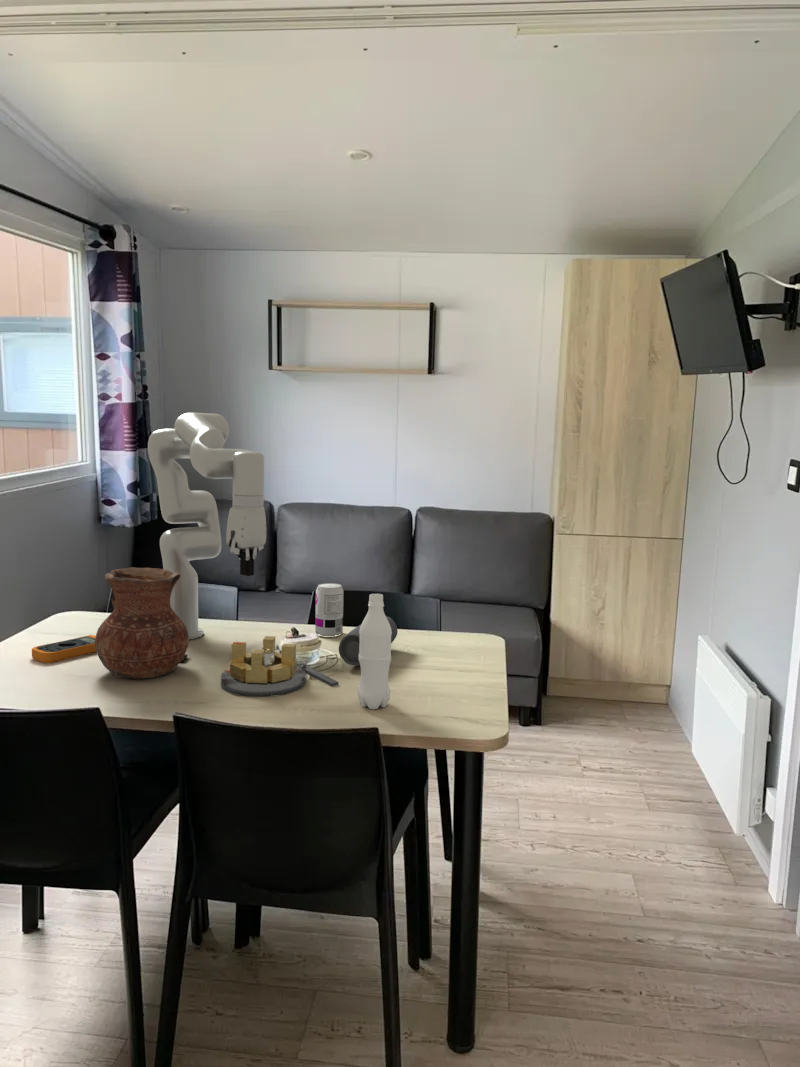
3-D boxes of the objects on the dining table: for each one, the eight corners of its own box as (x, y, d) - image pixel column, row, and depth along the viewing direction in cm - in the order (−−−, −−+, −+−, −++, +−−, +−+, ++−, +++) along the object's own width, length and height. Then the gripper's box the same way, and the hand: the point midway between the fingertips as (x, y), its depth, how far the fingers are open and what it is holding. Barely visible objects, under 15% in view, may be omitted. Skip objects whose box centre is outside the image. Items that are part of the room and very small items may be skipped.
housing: (216, 697, 171) (216, 667, 170) (225, 670, 191) (225, 643, 190) (305, 695, 173) (306, 666, 173) (305, 669, 193) (305, 642, 192)
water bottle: (369, 713, 163) (371, 599, 160) (351, 703, 169) (353, 593, 166) (396, 707, 168) (399, 596, 165) (378, 697, 173) (380, 590, 170)
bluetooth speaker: (370, 672, 192) (371, 634, 191) (336, 668, 195) (336, 630, 194) (399, 649, 213) (400, 615, 212) (368, 646, 216) (369, 611, 215)
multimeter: (28, 659, 196) (27, 646, 196) (91, 645, 211) (91, 633, 210) (45, 666, 191) (45, 653, 191) (109, 651, 206) (109, 638, 205)
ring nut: (288, 684, 174) (289, 653, 173) (224, 681, 175) (224, 651, 174) (300, 664, 189) (300, 636, 188) (240, 662, 189) (240, 634, 189)
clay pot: (204, 664, 195) (204, 568, 192) (158, 689, 175) (156, 583, 172) (130, 655, 201) (128, 562, 198) (76, 679, 181) (73, 576, 178)
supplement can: (310, 636, 225) (311, 586, 223) (321, 630, 233) (322, 581, 231) (336, 639, 222) (337, 589, 220) (346, 632, 230) (347, 584, 228)
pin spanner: (338, 686, 182) (338, 676, 181) (331, 688, 181) (331, 677, 180) (305, 669, 195) (305, 659, 194) (298, 670, 193) (298, 660, 193)
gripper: (257, 498, 195) (256, 568, 198) (214, 502, 182) (214, 577, 185) (279, 501, 191) (278, 572, 194) (237, 505, 179) (236, 581, 181)
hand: (246, 574), depth 190 cm, fingers closed
